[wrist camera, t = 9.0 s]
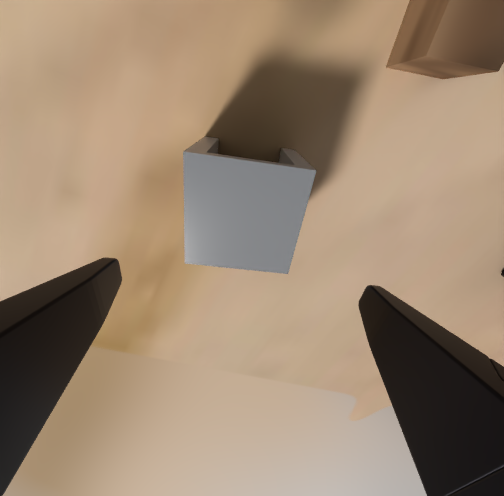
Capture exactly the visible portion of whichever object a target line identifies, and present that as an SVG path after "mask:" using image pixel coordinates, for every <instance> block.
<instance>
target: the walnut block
mask: <svg viewBox="0 0 504 496" xmlns="http://www.w3.org/2000/svg"><path fill="white" fill-rule="evenodd" d="M503 62H504V0H410V2H409V4H408V7H407V10H406V13H405V16H404V18H403V21H402V24H401V27H400V29H399V32H398V35H397V38H396V41H395V43H394V46H393V49H392V52H391V54H390V57H389V60H388V63H387V66H386V67H387V68H392V69H397V70H401V71H406V72H411V73H416V74H421V75H426V76H430V77H435V78H440V79H448V78H455V77H462V76H469V75H476V74H483V73H491V72H498V71H499V69H500V68H501V66H502V64H503Z"/></svg>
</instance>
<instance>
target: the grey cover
mask: <svg viewBox="0 0 504 496" xmlns="http://www.w3.org/2000/svg"><path fill="white" fill-rule="evenodd" d="M218 143H219V138H212V137H206V136H205V137H203V138H202V139H200V140H199V141H198V142H196V143H195V144H193V145H192V146H190V147H189V148H188V149H186V150H185V151H183V159H184V235H185V263H187V264H196V265H206V266H216V267H226V268H235V269H245V270H255V271H264V272H274V273H284V274H288V272H289V268H290V265H291V261H292V257H293V254H294V250H295V247H296V243H297V239H298V236H299V232H300V229H301V225H302V221H303V218H304V214H305V210H306V207H307V203H308V200H309V196H310V192H311V189H312V185H313V181H314V178H315V174H316V170H315V169H314V168H313V167H312V166H311V165H310V164H309V163H308V162H307V161H306V160H305V159H304V158H303V157H302V156H300V155H299V154H298V153H297V152H296V151H295V150H292V149H286V148H281V152H280V157H279V162H278V163H277V162H270V161H263V160H256V159H249V158H242V157H235V156H228V155H221V154H218Z"/></svg>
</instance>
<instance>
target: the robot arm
mask: <svg viewBox="0 0 504 496" xmlns="http://www.w3.org/2000/svg"><path fill="white" fill-rule="evenodd" d="M501 275H502V276H503V277H504V271H503V272H502V273H501ZM121 282H122V276H121V271H120V265H119V261H118V260H117V259H115V258H102V259H99V260H97V261H94V262H92V263H90V264H87V265H85V266H83V267H80V268H78V269H76V270H73V271H71V272H69V273H66V274H64V275H61V276H59V277H57V278H54V279H52V280H50V281H47V282H45V283H43V284H40V285H38V286H36V287H33V288H31V289H29V290H26V291H24V292H21V293H19V294H17V295H14V296H12V297H10V298H7V299H5V300H3V301H0V496H2V495H3V494H4V492H5V491H6V489H7V487H8V485H9V484H10V482H11V480H12V479H13V477H14V475H15V474H16V472H17V470H18V469H19V467H20V465H21V463H22V462H23V460H24V458H25V457H26V455H27V453H28V452H29V450H30V448H31V446H32V444H33V443H34V441H35V440H36V438H37V436H38V434H39V433H40V431H41V429H42V428H43V426H44V424H45V422H46V420H47V419H48V417H49V416H50V414H51V412H52V411H53V409H54V407H55V405H56V404H57V402H58V400H59V399H60V397H61V395H62V393H63V392H64V390H65V388H66V387H67V385H68V383H69V381H70V380H71V378H72V376H73V375H74V373H75V371H76V370H77V368H78V366H79V364H80V363H81V361H82V359H83V358H84V356H85V354H86V352H87V351H88V349H89V347H90V346H91V344H92V342H93V340H94V339H95V337H96V335H97V334H98V332H99V330H100V328H101V327H102V325H103V323H104V321H105V319H106V317H107V314H108V312H109V310H110V308H111V305H112V303H113V301H114V299H115V296H116V294H117V292H118V290H119V287H120V285H121ZM359 310H360V313H361V317H362V321H363V325H364V328H365V332H366V336H367V339H368V342H369V346H370V348H371V351H372V354H373V356H374V359H375V362H376V364H377V367H378V369H379V372H380V375H381V377H382V380H383V382H384V385H385V388H386V390H387V393H388V395H389V398H390V401H391V403H392V406H393V408H394V411H395V413H396V416H397V419H398V421H399V424H400V427H401V429H402V432H403V434H404V437H405V440H406V442H407V445H408V447H409V450H410V452H411V455H412V458H413V460H414V463H415V465H416V468H417V471H418V473H419V476H420V478H421V481H422V484H423V486H424V489H425V491H426V494H427V496H504V367H503V366H502V365H500V364H499V363H497V362H496V361H494V360H493V359H489V357H488V356H486V355H485V354H483V353H482V352H480V351H479V350H477V349H476V348H474V347H472V346H471V345H469V344H468V343H466V342H465V341H463V340H462V339H460V338H459V337H457V336H456V335H454V334H453V333H451V332H449V331H448V330H446V329H445V328H443V327H442V326H440V325H439V324H437V323H436V322H434V321H433V320H431V319H430V318H428V317H426V316H425V315H423V314H422V313H420V312H419V311H417V310H416V309H414V308H413V307H411V306H410V305H408V304H407V303H405V302H403V301H402V300H400V299H399V298H397V297H396V296H394V295H393V294H391V293H390V292H388V291H387V290H385V289H384V288H382V287H380V286H374V285H369V286H367V287H366V289H365V290H364V292H363V294H362V296H361V298H360V300H359Z"/></svg>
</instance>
